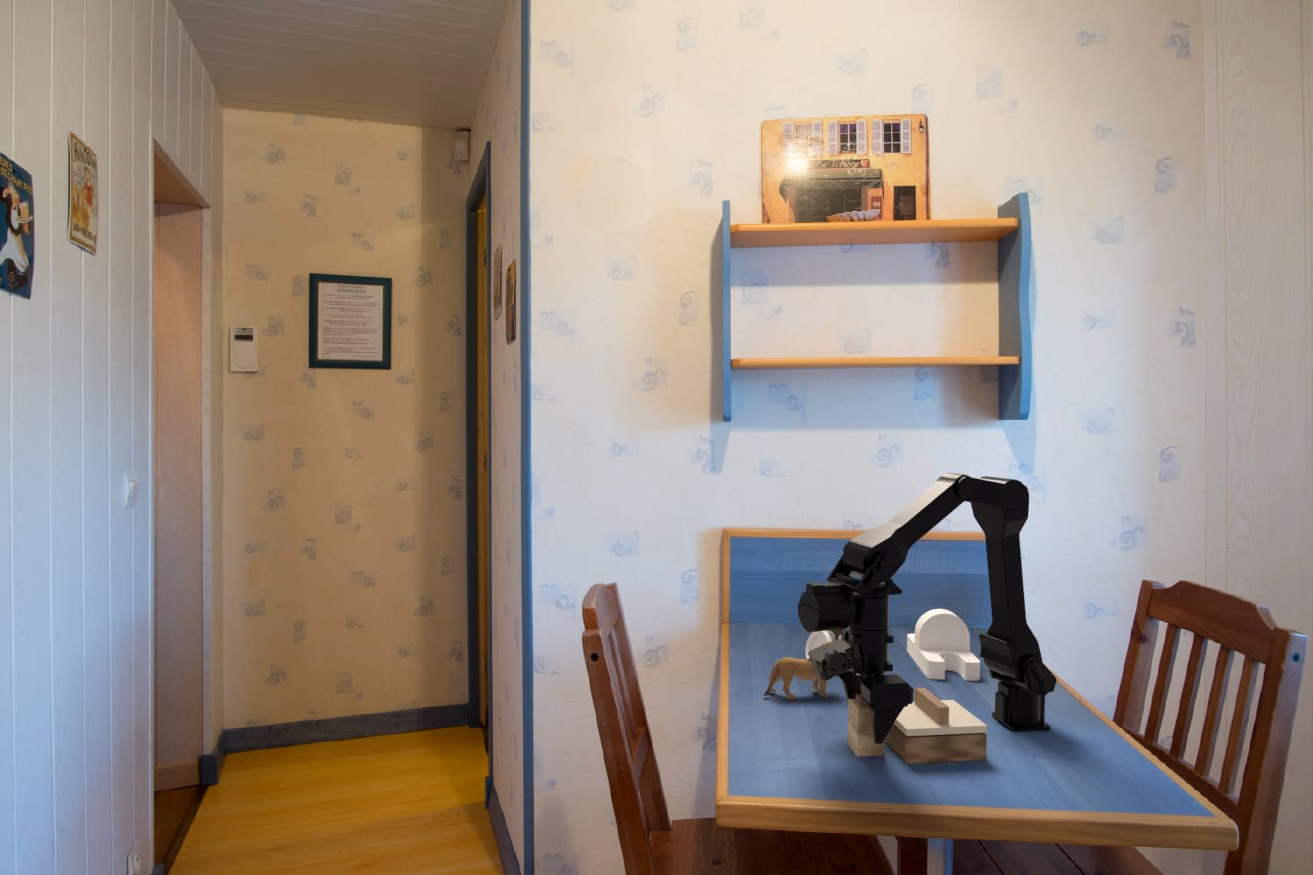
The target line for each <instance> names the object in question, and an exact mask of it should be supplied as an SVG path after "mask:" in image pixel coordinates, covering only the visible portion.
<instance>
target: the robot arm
mask: <svg viewBox="0 0 1313 875" xmlns="http://www.w3.org/2000/svg"><path fill="white" fill-rule="evenodd" d="M965 502H967V503H970V506H971V510H972V515H973V518H974V519H975V521H976V522H977V524H978V526H979V528H980V529H981V531H982V532H983V534H984V539H985V550H986V561H987V562H986V563H987V573H988V585H989V596H990V598H989V599H990V608H991V621H992V622H991V624H990V626H988V629H987V631H986V632H980V633H979V638H978V639H979V643H980V653H979V657H981V658H982V659H983V663H984V665H985V666H986V667H987V669H988V672H989V676H990V678H991V679H993V680H998V682H997V691H995V693H994V694H995V696H994V711H993V712H991V717H992V718H994V719H995V720H996V721H997V720H998V721H999V722H1000V723H1001V724H1002V725H1004V726H1005V727H1007V728H1009V730H1011V731H1013V732H1015V731H1016V732H1017V731H1019V732H1020V731H1021V732H1022V731H1041V730H1045V731H1046V730H1051V728H1052V727H1051V725H1050V724H1049V723H1047V722H1046V721H1045V718H1046V717H1045V714H1046V713H1045V712H1046V711H1045V710H1046V696H1048V694H1050V693H1053V692H1054V691H1055V687H1056V684H1057V681H1058V679H1057V677H1056V676H1055V675H1054V674H1053V672H1052V671H1051V670H1050V669H1049V668H1048V667H1047V666H1046V664H1045V663H1044V662H1043V657H1042V652H1041V647H1040V644H1039V641H1038V639H1037V637H1036V636H1035V634H1034V632H1033V631H1032V629H1031V628H1030V626H1029V624H1028V622H1027V614H1026V612H1027V611H1026V601H1025V590H1024V576H1023V566H1022V551H1021V540H1020V537H1021V536H1020V535H1021V534H1020V533H1021V531H1022V530H1023V527H1024V526H1025V524H1026V523H1027V521H1028V518H1029V512H1030V509H1029V508H1030V493H1029V488H1028V486H1027V485H1025V484H1024V483H1023V482H1022V481H1021V480H1019V479H1013V478H1004V477H996V476H988V475H987V476H986V475H983V476H980V477H978V478H976V477H972V476H970V475H968V474H963V473H955V472H945V473H943V474H942V475H940V476H939V477H938V478H937V479H936V482H935V483H933V484H932V485H931V486H930V487H928V488H927V489H926V490H925V491H924V492H922V493H921V494H920V495H919V496H918V497H917V498H915V499H914V500H913V501H912V502H910V504H908V505H907V506H905V508H903V509H902V510H901V511H900V512H898V513H897V514H896V515H895V516H894V517H892V518H891V519H890V520H889V521H888V522H886V523H884V524H882V525H880V526H876V527H875V528H871V529H868V530H866V531H864V532H862V533H860V534H857V535H856V536H854V537H853V538H851V539H849V540H848V541H847V543H845V545H844V546H843V549H842V551H843V553H842V554H841V556H840V558H839V559H838V561H837V563H836V564H835V566H834V567H833V569H832V570H831V572H830V573H829V576H827V579H826V581H827V582H807V583H806V584H805V586H806V587H805V591H804V592H802V594H801V595H800V598H799V602H797V615H798V619H799V622H800V623H801V626H802V627H803V629H804V630H805V631H806V632H808V633H813V632H818V631H827V630H836V629H843V631H842V635H841V639H840V640H837V641H834V642H830V643H827V644H825V645H822V646H820V647H817V648H815V649H812V650H810V651H809V652H808V655H809V658H810V661H811V664H812V666H813V669H814V672H815V674H817V675H818V676H819V677H820V679H821V680H824V681H825V680H827V681H829V680H832V679H833V678H834V677H837V676H838V678H840V680H841V683H842V685H843V690H844V693H845V697H846V701H847V703H848V699H856V694H862V696H863V697H861V699H862V700H863V701H864V702H865V703H866V704H867V705H868V706H869V707H870V712H871V720H872V728H873V736H874V742H875V743H876V744H882V743H883V742H884V743H885V741H884V740H885V738H886V736H887V735H888V733H889V731H890V729H891V727H892V726H893V724H894V722H895V720H896V719H897V717H898V716H899V714H900V713H901V711H902V710H903V708H904V707H907V706H908V704H912V703H913V701H914V694H915V688H913V687H912V686H911V685H910V683H908V682H907V681H905V679H903V678H902V677H901V676H899V674H885V672H893V671H894V665H893V663H892V662H891V661H889V644H894V636H893V635H892V633H890V632H889V616H890V615H889V614H890V611H889V609H890V608H889V607H890V606H889V605H890V596H894V595H902V593H903V589H902V588H900V586H898V585H897V584H896V583H895V582H894V581H893V579H892V578H893V577H894V575H896V573H897V572H898V571H899V570H900V569H901V568H902V566H903V565H904V564H905V562H906V560H907V557H908V553H909V550H910V549H912V547H913V546H914V545H915V544H916V543H917V542H919V541H920V540H921V539H922V538H923V537H924V536H925V535H927V534H928V533H929V532H930V531H931V530H932V529H934V528H935V527H937V526H938V524H940V523H941V522H942V521H943V520H944V519H945V518H947V517H948V516H949V515H950V514H951V513H953V512H954V511H955V510H956V509H957V508H958V507H960V506H961V505H962V504H963V503H965ZM850 575H853V576H855V577H853V576H850ZM856 577H857V578H856ZM859 578H861V579H859ZM847 627H848V628H847Z"/></svg>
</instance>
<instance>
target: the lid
mask: <svg viewBox="0 0 1313 875" xmlns="http://www.w3.org/2000/svg"><path fill="white" fill-rule="evenodd" d="M894 724H895V725H896V726H897V727H898V728H899V729H900V730H901V731H902V732H903V733H904V734H905V735H906V736H921V735H944V734H966V733H985V734H986V733H987V732H988V725H987V724H985V723H984V722H983V721H982V720H980V719H979V718H978V717H976V716H975V715H974V714H973V713H971V712H970V711H968V710H967V709H966V708H964V707H963V706H962V705H961V704H960V703H958V702H957V701H956V700H955V699H941V700H940V699H939V698H938V697H937V696H935V695H934V694H933V693H932V692H930V691H929V690H928V689H926V688H925V687H914V700H913V703H912V704H908V706H907V707H904V708H903V710H902V711H901V713H900V714H899V716H898V717H897V719H896V720H895V722H894Z"/></svg>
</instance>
